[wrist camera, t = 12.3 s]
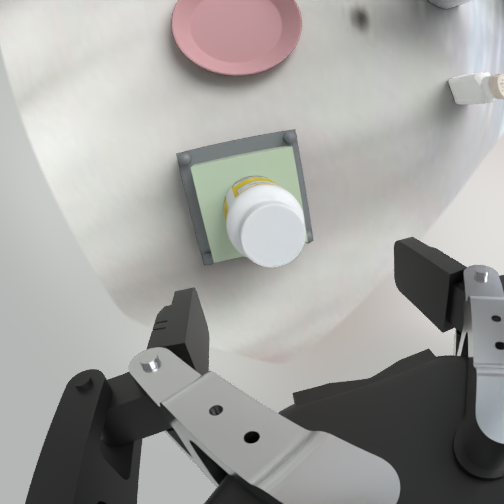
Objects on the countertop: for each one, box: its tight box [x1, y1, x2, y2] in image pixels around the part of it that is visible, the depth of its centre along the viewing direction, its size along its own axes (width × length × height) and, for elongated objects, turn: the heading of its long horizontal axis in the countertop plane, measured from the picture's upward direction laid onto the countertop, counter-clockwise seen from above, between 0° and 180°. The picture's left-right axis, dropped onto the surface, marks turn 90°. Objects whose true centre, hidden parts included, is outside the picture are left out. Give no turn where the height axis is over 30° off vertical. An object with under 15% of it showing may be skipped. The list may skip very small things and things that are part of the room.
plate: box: [171, 0, 302, 76], centre depth 28 cm, size 14×14×2 cm
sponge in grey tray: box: [176, 129, 313, 265], centre depth 32 cm, size 12×12×8 cm
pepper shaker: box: [448, 72, 504, 105], centre depth 28 cm, size 4×4×10 cm
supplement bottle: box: [224, 176, 306, 268], centre depth 23 cm, size 5×5×10 cm
